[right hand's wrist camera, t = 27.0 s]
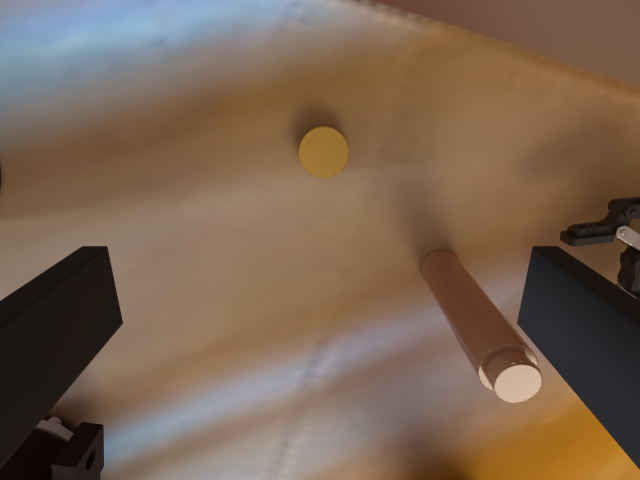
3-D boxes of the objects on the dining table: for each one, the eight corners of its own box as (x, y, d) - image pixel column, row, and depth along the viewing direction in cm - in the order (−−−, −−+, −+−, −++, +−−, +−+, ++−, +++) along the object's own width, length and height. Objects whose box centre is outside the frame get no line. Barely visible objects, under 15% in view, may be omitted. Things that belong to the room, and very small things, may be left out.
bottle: (463, 276, 45) (555, 398, 28) (426, 289, 46) (494, 415, 28) (453, 244, 44) (543, 350, 26) (416, 257, 44) (479, 369, 27)
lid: (303, 121, 39) (303, 122, 38) (351, 130, 40) (353, 131, 38) (296, 169, 41) (295, 173, 39) (342, 177, 41) (343, 181, 40)
